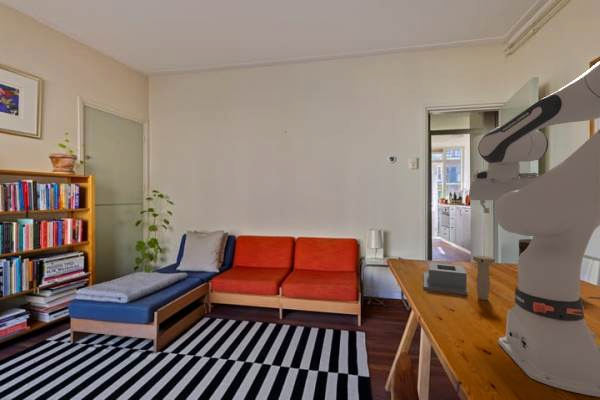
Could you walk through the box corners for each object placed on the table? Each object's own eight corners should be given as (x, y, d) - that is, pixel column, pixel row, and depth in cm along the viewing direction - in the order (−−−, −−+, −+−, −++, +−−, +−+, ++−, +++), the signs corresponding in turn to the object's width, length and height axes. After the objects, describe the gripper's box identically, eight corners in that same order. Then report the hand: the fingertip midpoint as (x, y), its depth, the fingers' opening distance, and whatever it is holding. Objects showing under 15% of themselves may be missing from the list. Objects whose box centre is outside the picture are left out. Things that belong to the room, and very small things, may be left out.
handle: (492, 303, 97) (493, 260, 97) (471, 298, 101) (471, 257, 101) (494, 299, 100) (495, 257, 100) (474, 294, 105) (474, 255, 105)
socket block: (467, 295, 105) (467, 275, 104) (423, 289, 111) (423, 271, 110) (460, 278, 125) (460, 262, 125) (423, 274, 131) (423, 259, 131)
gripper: (542, 172, 93) (541, 214, 93) (470, 175, 106) (470, 211, 106) (543, 171, 88) (542, 215, 88) (468, 174, 101) (467, 213, 101)
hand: (502, 213), depth 97 cm, fingers open, 8 cm apart
